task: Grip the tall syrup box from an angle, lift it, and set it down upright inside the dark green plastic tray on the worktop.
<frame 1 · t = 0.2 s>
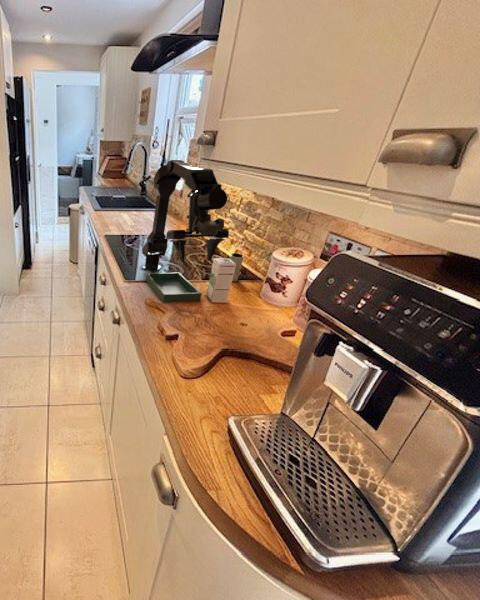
hand: (196, 261, 105), 15 cm above the worktop, tool pointing down, fingers open, 9 cm apart
tray: (171, 289, 122), on the worktop
syrup box: (216, 299, 115), on the worktop
grey upright cylinder: (231, 279, 132), on the worktop
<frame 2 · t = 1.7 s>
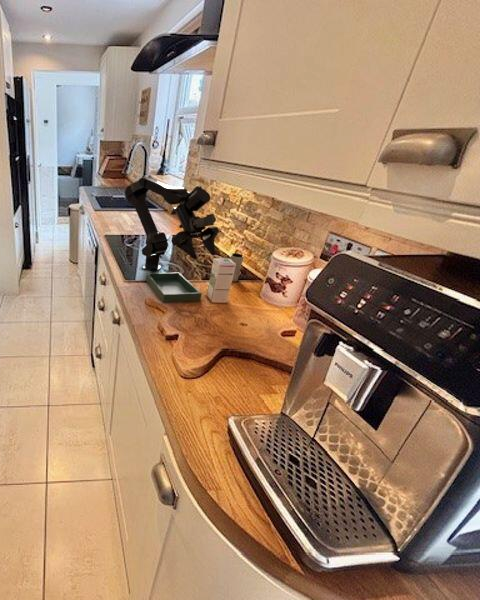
hand: (204, 256, 115), 13 cm above the worktop, tool tilted 45°, fingers open, 9 cm apart
nothing on the worktop moved.
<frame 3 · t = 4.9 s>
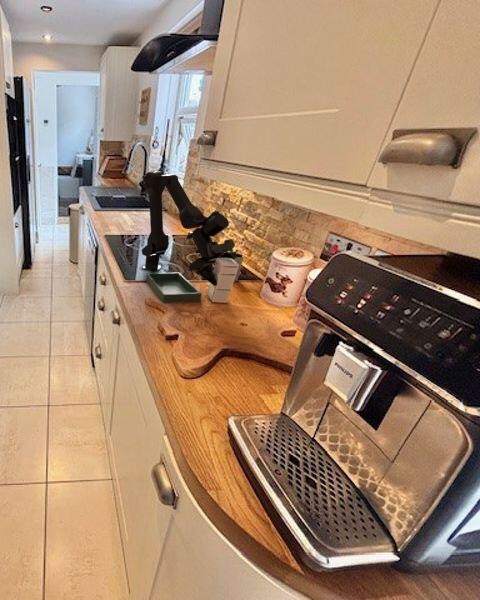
hand: (223, 283, 111), 7 cm above the worktop, tool tilted 45°, fingers closed on syrup box, 7 cm apart
syrup box: (216, 299, 115), on the worktop, touching gripper
everything else where it was.
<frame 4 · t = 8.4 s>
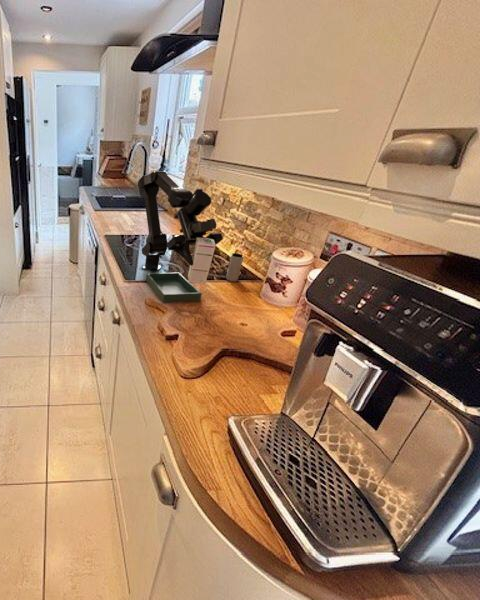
hand: (202, 264, 109), 13 cm above the worktop, tool tilted 45°, fingers closed on syrup box, 7 cm apart
syrup box: (195, 280, 113), point 7 cm above the worktop, touching gripper
everything else where it was.
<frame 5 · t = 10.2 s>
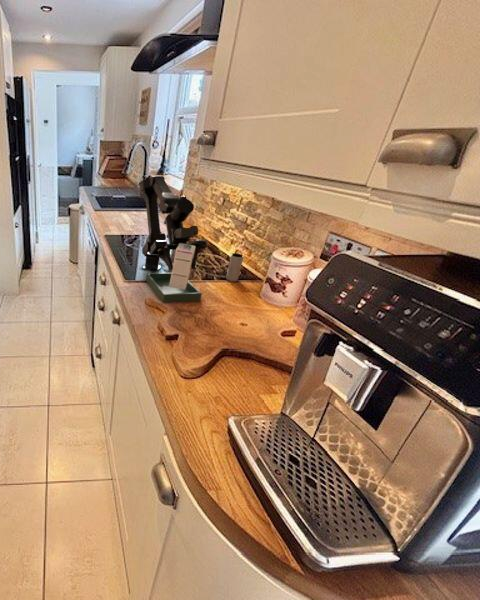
hand: (182, 269, 111), 11 cm above the worktop, tool tilted 45°, fingers closed on syrup box, 7 cm apart
syrup box: (177, 285, 116), point 4 cm above the worktop, touching gripper
everything else where it was.
when the fingers open (7 cm above the worktop, at t = 11.9 s): syrup box stays where it is, resting on tray.
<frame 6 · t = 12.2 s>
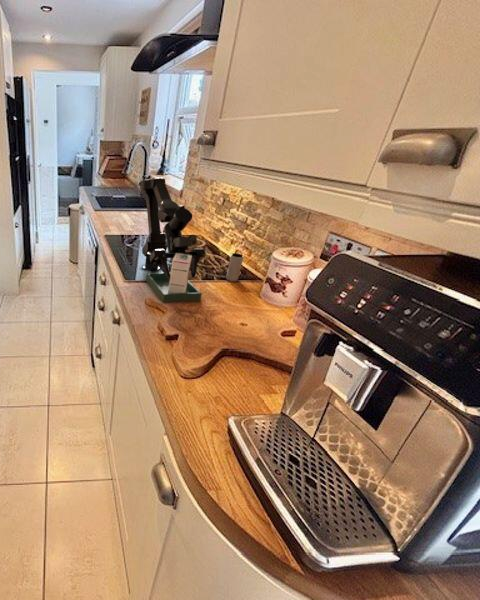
hand: (181, 277, 112), 8 cm above the worktop, tool tilted 45°, fingers open, 9 cm apart
syrup box: (176, 294, 117), point 1 cm above the worktop, touching gripper, tray
everything else where it was.
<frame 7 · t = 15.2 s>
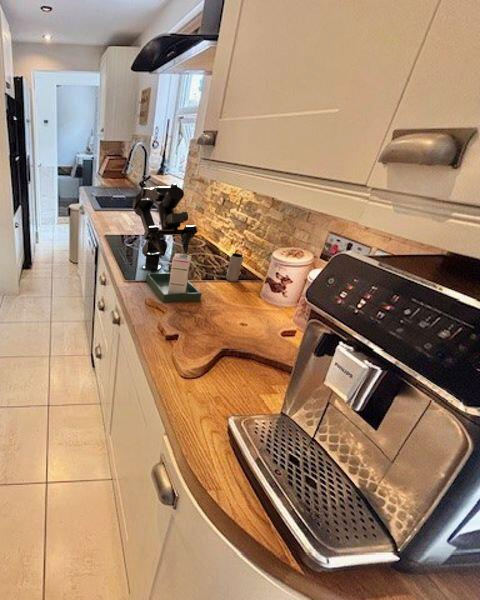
hand: (174, 253, 118), 14 cm above the worktop, tool tilted 45°, fingers open, 9 cm apart
syrup box: (176, 294, 117), resting on tray
everything else where it was.
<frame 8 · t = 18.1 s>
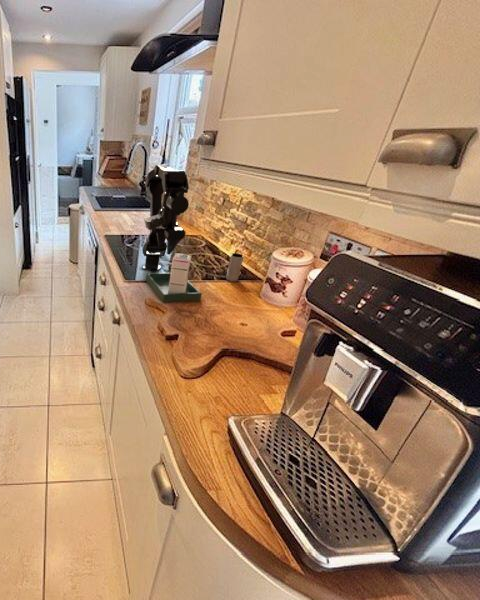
hand: (164, 250, 122), 13 cm above the worktop, tool pointing down, fingers open, 9 cm apart
nothing on the worktop moved.
at the end: syrup box inside the target area in the tray (2.5 cm from its centre), point 0.3 cm above the tray's base; syrup box tilted 0°; the gripper is holding nothing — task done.
